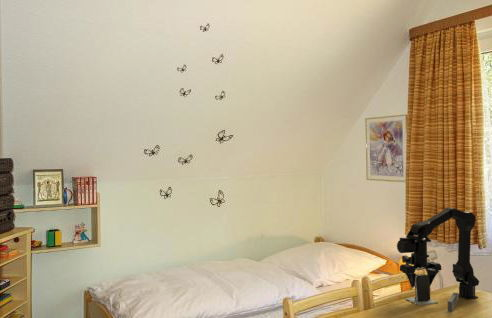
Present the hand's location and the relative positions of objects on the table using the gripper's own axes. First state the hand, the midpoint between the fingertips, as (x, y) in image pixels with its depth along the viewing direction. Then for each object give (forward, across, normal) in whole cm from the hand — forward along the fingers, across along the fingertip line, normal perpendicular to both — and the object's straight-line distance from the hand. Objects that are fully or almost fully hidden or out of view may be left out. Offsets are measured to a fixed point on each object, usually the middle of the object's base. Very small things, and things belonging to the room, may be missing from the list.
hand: (420, 286), depth 189 cm
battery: (+6, 0, 0) cm, 6 cm away
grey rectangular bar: (+6, -8, +10) cm, 15 cm away
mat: (+7, 0, 0) cm, 7 cm away
